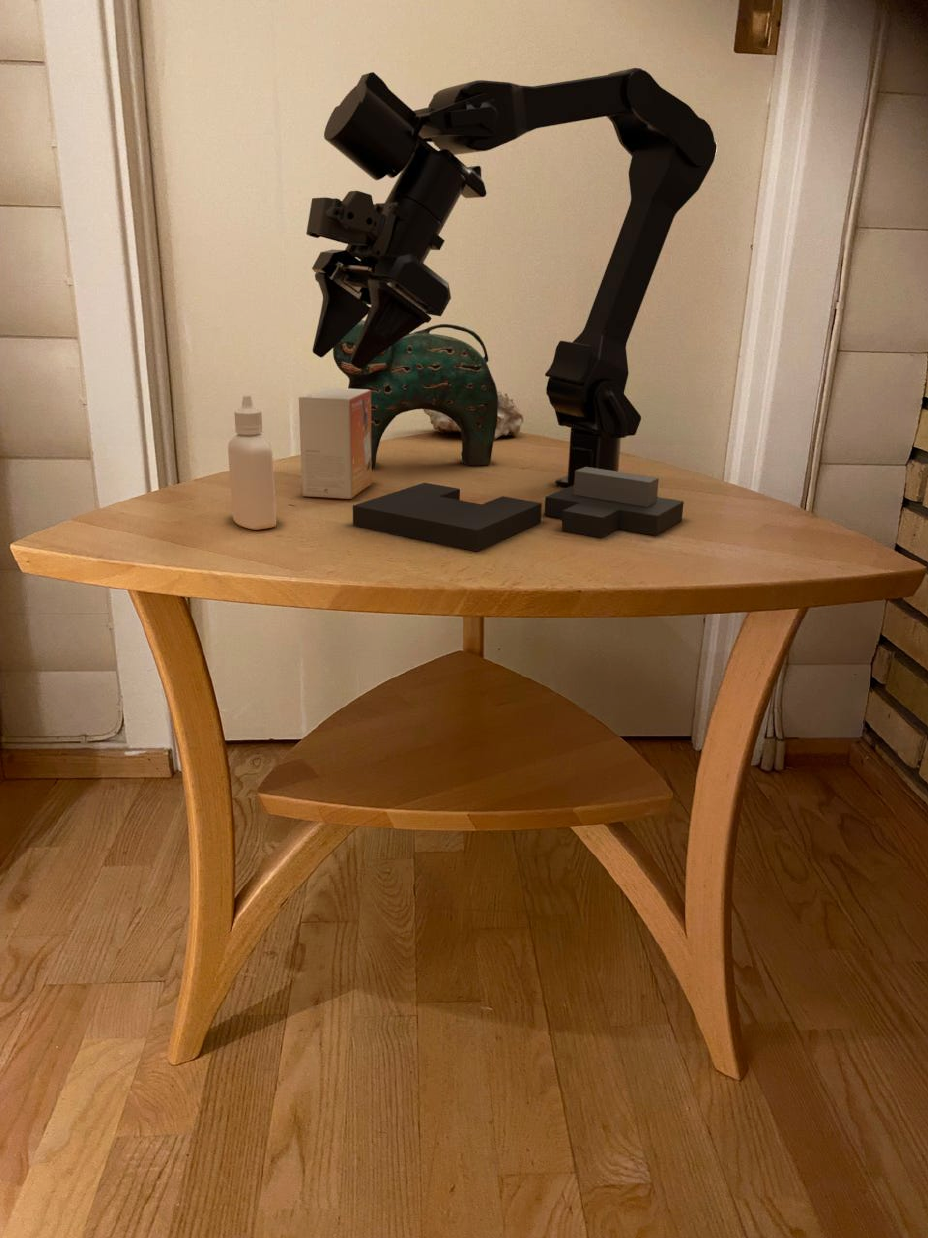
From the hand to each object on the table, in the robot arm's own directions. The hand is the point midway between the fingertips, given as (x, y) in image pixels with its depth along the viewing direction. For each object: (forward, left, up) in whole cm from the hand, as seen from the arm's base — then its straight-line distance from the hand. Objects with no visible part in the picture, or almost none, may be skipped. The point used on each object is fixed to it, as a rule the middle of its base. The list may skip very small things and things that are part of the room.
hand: (334, 360), depth 90 cm
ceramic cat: (-23, -7, -15) cm, 29 cm away
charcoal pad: (-3, +11, -15) cm, 19 cm away
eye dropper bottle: (+8, -4, -15) cm, 17 cm away
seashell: (-44, -12, -15) cm, 48 cm away
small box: (-7, -6, -15) cm, 18 cm away
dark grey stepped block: (-14, +23, -15) cm, 30 cm away
